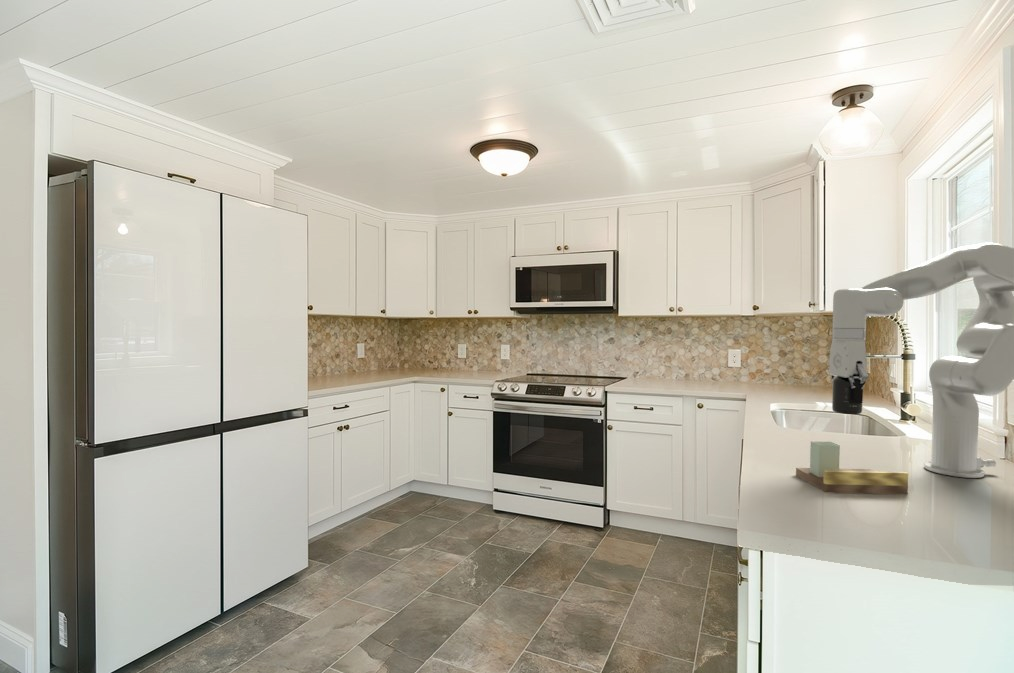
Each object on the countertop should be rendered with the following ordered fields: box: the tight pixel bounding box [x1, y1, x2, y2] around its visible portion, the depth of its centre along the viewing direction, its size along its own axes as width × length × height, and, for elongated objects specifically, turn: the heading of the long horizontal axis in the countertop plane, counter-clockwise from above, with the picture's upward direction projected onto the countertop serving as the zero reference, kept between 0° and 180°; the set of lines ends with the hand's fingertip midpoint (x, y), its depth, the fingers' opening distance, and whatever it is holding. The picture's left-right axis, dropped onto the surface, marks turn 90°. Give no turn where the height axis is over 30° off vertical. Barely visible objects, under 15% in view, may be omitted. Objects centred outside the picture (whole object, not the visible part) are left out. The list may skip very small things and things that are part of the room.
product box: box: [809, 441, 841, 477], centre depth 133 cm, size 5×4×8 cm
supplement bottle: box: [831, 375, 863, 415], centre depth 141 cm, size 7×7×12 cm
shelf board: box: [795, 467, 909, 495], centre depth 132 cm, size 19×14×5 cm
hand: (847, 400), depth 141 cm, fingers closed on supplement bottle, 6 cm apart
